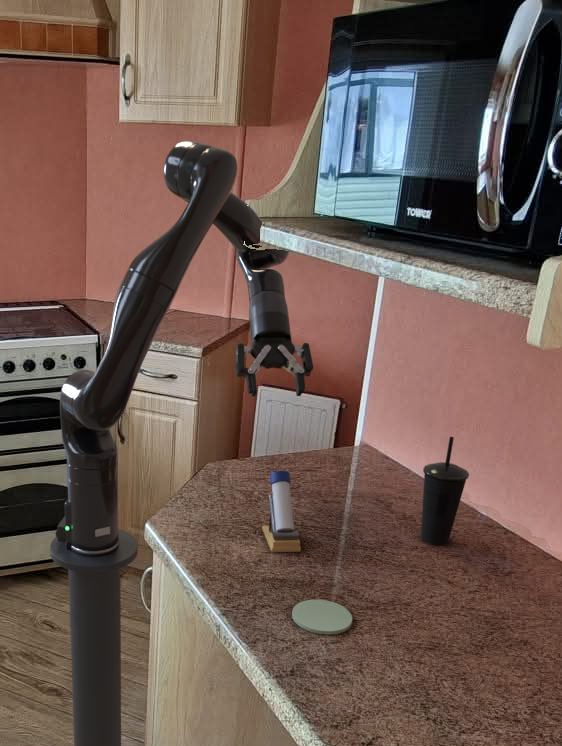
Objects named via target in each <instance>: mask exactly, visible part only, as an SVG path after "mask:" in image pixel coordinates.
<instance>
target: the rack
mask: <svg viewBox="0 0 562 746" xmlns="http://www.w3.org/2000/svg"><path fill="white" fill-rule="evenodd" d="M268 503H269V523H268V525H262V528H261V529H262V532H263V535H264V537H265V540H266V542H267V544H268V547H269V549H270V552H271V553H295V552H296V553H301V550H302V547H301V541H300V539H299V538H300V532H299V530H294V531H276V524H275V513H274V503H273V494H269V495H268Z"/></svg>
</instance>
